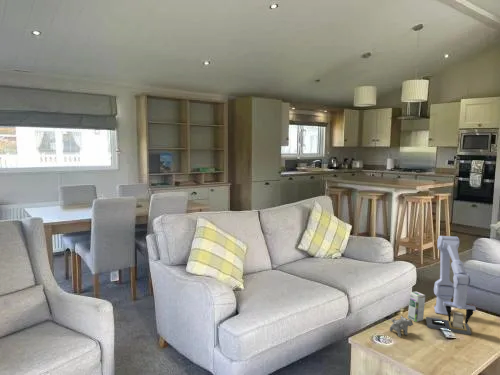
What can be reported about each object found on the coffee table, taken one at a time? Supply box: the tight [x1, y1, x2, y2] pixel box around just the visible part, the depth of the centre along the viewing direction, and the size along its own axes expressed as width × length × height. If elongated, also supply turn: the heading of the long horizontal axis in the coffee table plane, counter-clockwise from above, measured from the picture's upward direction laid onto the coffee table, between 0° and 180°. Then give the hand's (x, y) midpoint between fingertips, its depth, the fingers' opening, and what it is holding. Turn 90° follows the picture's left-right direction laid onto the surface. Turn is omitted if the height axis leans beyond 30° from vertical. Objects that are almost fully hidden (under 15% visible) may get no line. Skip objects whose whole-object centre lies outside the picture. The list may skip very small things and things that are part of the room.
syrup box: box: [407, 291, 426, 323], centre depth 206 cm, size 6×6×14 cm
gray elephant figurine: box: [389, 315, 414, 338], centre depth 191 cm, size 9×12×8 cm
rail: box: [425, 316, 472, 336], centre depth 198 cm, size 10×20×2 cm, turn 68°
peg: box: [451, 311, 464, 329], centre depth 196 cm, size 4×4×8 cm
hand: (457, 321), depth 196 cm, fingers open, 7 cm apart
